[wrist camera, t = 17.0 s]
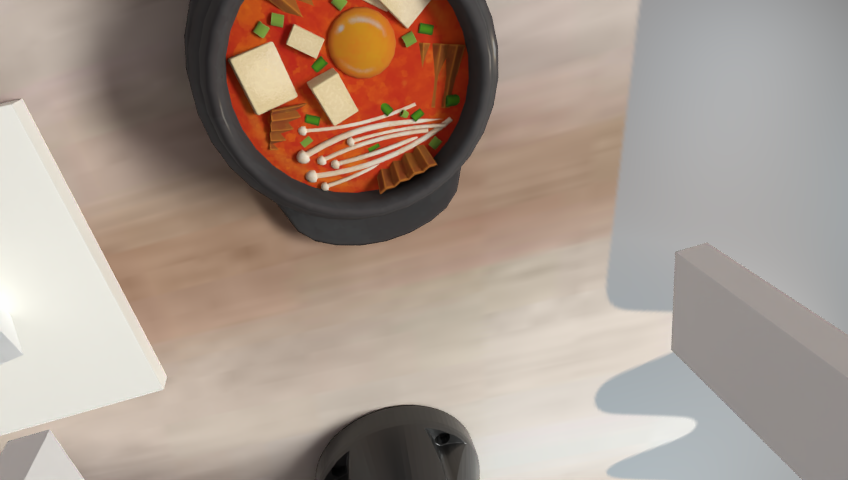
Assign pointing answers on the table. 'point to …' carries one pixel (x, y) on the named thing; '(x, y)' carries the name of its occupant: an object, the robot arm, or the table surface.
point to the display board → (59, 294)
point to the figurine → (8, 338)
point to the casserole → (345, 104)
